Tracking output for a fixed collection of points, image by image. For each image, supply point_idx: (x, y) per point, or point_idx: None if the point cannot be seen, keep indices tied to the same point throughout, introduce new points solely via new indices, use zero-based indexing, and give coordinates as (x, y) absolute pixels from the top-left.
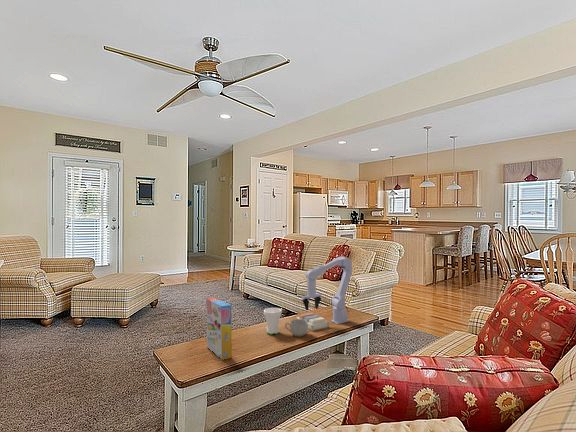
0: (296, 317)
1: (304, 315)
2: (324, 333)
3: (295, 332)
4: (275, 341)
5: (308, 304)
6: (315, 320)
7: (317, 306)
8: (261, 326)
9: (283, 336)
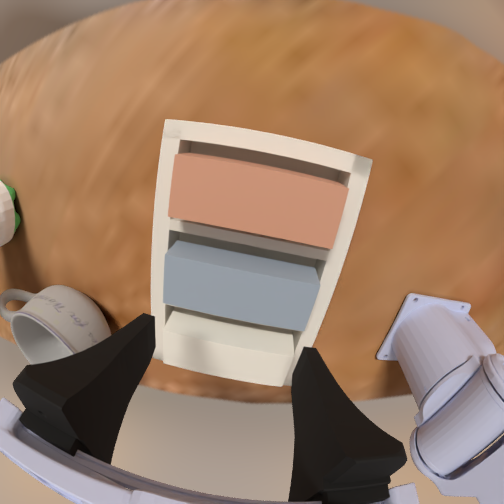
0: (167, 127)
1: (201, 215)
2: (200, 388)
3: (48, 337)
4: (2, 290)
5: (124, 413)
6: (191, 369)
7: (294, 402)
8: (10, 84)
9: (26, 276)
